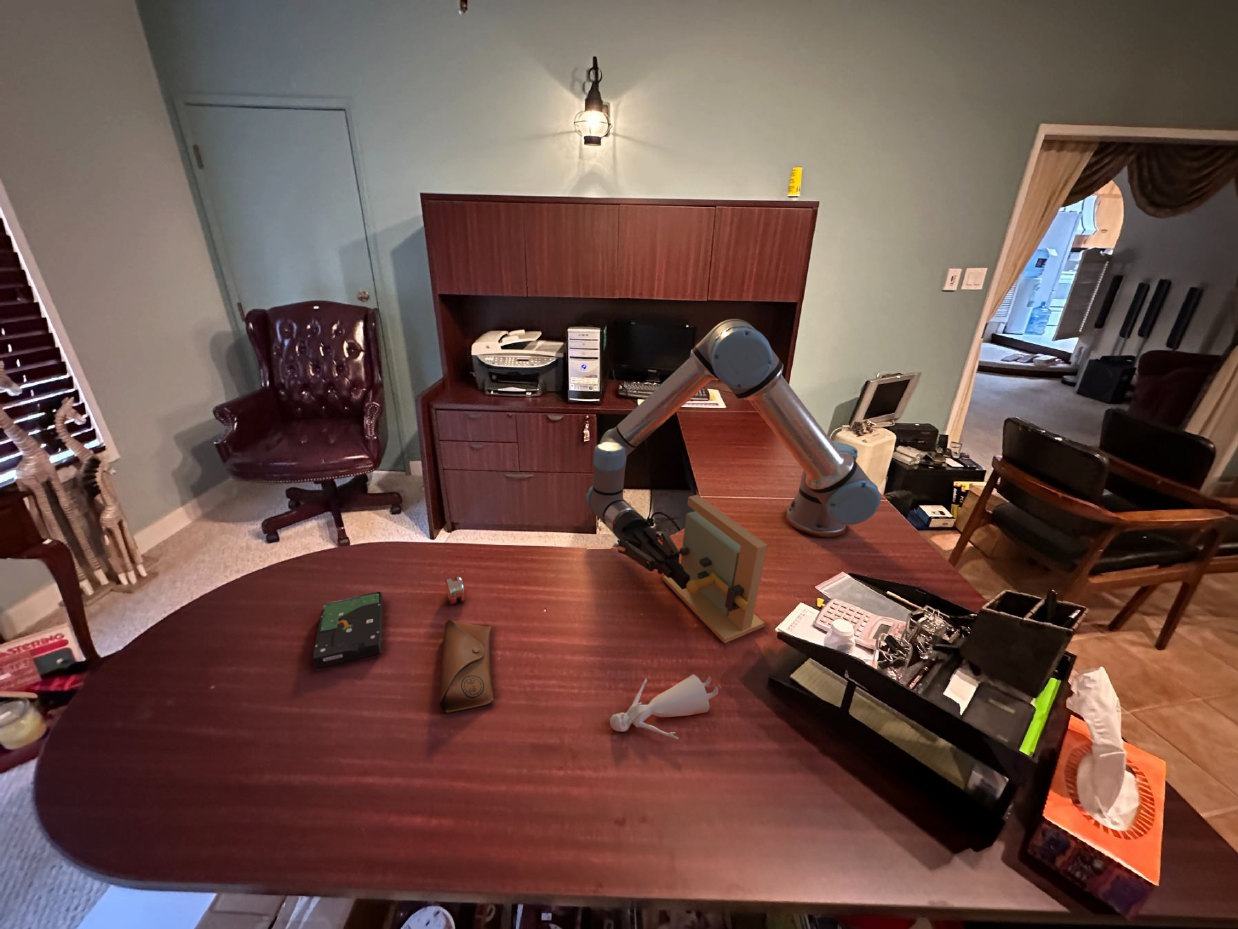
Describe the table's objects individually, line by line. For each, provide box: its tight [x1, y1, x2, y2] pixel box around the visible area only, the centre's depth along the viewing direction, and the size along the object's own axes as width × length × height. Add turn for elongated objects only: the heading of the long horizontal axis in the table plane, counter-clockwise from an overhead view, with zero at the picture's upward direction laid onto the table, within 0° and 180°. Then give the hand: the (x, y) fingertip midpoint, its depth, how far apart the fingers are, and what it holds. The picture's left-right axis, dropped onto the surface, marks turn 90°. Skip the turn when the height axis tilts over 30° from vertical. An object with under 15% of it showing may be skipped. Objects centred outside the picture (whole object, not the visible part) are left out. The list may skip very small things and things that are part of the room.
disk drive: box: [312, 591, 384, 669], centre depth 90 cm, size 10×3×15 cm
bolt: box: [686, 573, 749, 611], centre depth 93 cm, size 7×10×3 cm
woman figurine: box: [609, 673, 719, 740], centre depth 77 cm, size 12×4×18 cm
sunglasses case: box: [438, 618, 495, 714], centre depth 84 cm, size 18×7×7 cm, turn 16°
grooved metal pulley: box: [445, 575, 467, 605], centre depth 99 cm, size 5×3×5 cm, turn 29°
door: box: [662, 494, 768, 644], centre depth 99 cm, size 10×21×20 cm, turn 29°
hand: (686, 582), depth 96 cm, fingers closed
